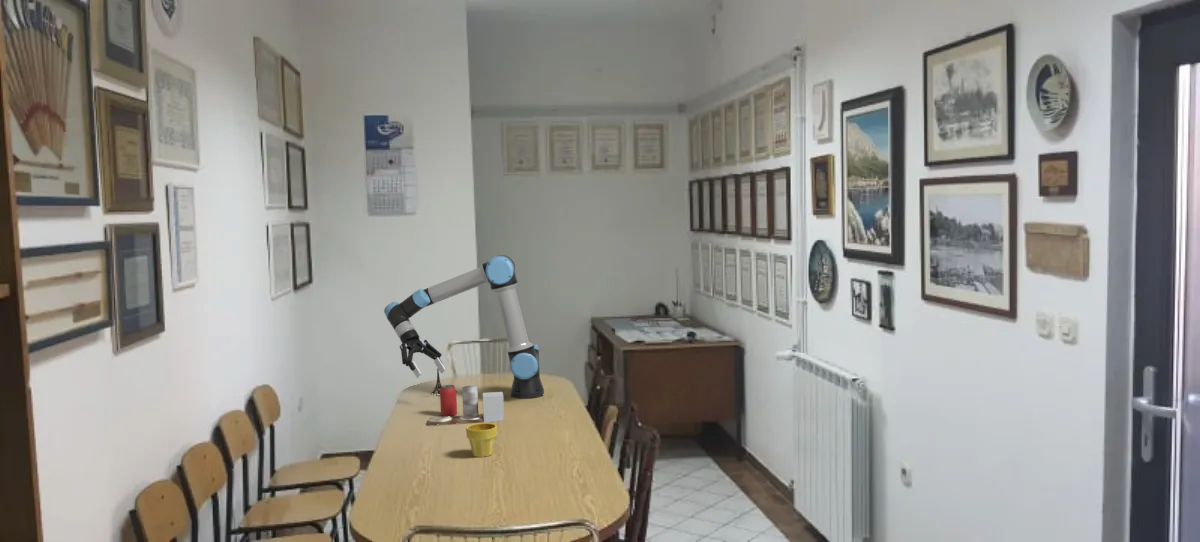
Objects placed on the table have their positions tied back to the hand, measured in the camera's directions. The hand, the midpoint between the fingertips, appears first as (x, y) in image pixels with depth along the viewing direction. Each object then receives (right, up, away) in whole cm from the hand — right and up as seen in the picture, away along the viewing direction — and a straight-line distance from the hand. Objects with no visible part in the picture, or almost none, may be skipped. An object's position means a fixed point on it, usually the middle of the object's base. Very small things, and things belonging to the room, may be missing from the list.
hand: (431, 373), depth 360 cm
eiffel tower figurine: (-4, -15, +38) cm, 41 cm away
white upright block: (+28, -16, -15) cm, 35 cm away
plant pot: (+30, -20, -66) cm, 75 cm away
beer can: (+8, -17, -5) cm, 19 cm away
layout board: (+13, -17, -17) cm, 27 cm away
